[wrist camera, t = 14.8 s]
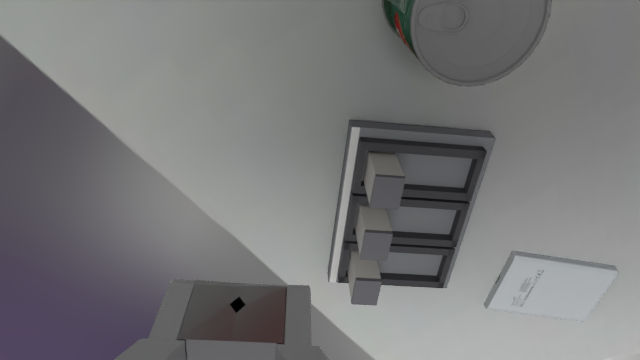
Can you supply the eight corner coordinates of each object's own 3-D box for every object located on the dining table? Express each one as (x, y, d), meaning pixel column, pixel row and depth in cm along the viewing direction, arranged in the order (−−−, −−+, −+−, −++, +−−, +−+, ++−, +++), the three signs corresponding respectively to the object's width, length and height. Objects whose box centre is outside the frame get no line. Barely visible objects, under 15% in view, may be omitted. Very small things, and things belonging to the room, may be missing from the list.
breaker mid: (384, 203, 41) (393, 234, 37) (378, 228, 43) (386, 260, 39) (359, 201, 41) (365, 232, 37) (354, 227, 43) (360, 259, 38)
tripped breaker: (374, 248, 44) (381, 281, 40) (369, 271, 46) (376, 305, 41) (351, 247, 44) (355, 280, 40) (347, 269, 45) (351, 304, 41)
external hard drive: (575, 313, 53) (481, 300, 52) (611, 262, 49) (510, 247, 48) (583, 323, 52) (486, 311, 50) (620, 272, 48) (516, 256, 46)
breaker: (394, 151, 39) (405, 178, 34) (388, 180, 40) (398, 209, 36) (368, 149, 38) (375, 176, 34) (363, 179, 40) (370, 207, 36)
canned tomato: (492, -65, 32) (571, -62, 22) (472, 45, 36) (533, 86, 26) (384, -65, 32) (419, -63, 22) (377, 45, 36) (403, 87, 26)
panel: (489, 131, 40) (500, 142, 38) (442, 278, 49) (448, 294, 47) (349, 120, 39) (352, 131, 37) (327, 272, 48) (328, 288, 46)
